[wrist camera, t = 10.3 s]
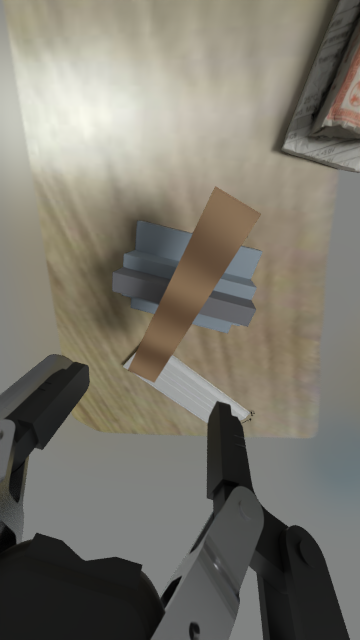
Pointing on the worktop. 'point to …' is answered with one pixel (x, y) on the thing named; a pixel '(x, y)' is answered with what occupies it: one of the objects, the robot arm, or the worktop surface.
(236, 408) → the baseboard molding
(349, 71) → the packaged product
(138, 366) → the walnut batten
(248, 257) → the ridge stand
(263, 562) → the robot arm
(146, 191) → the worktop surface
